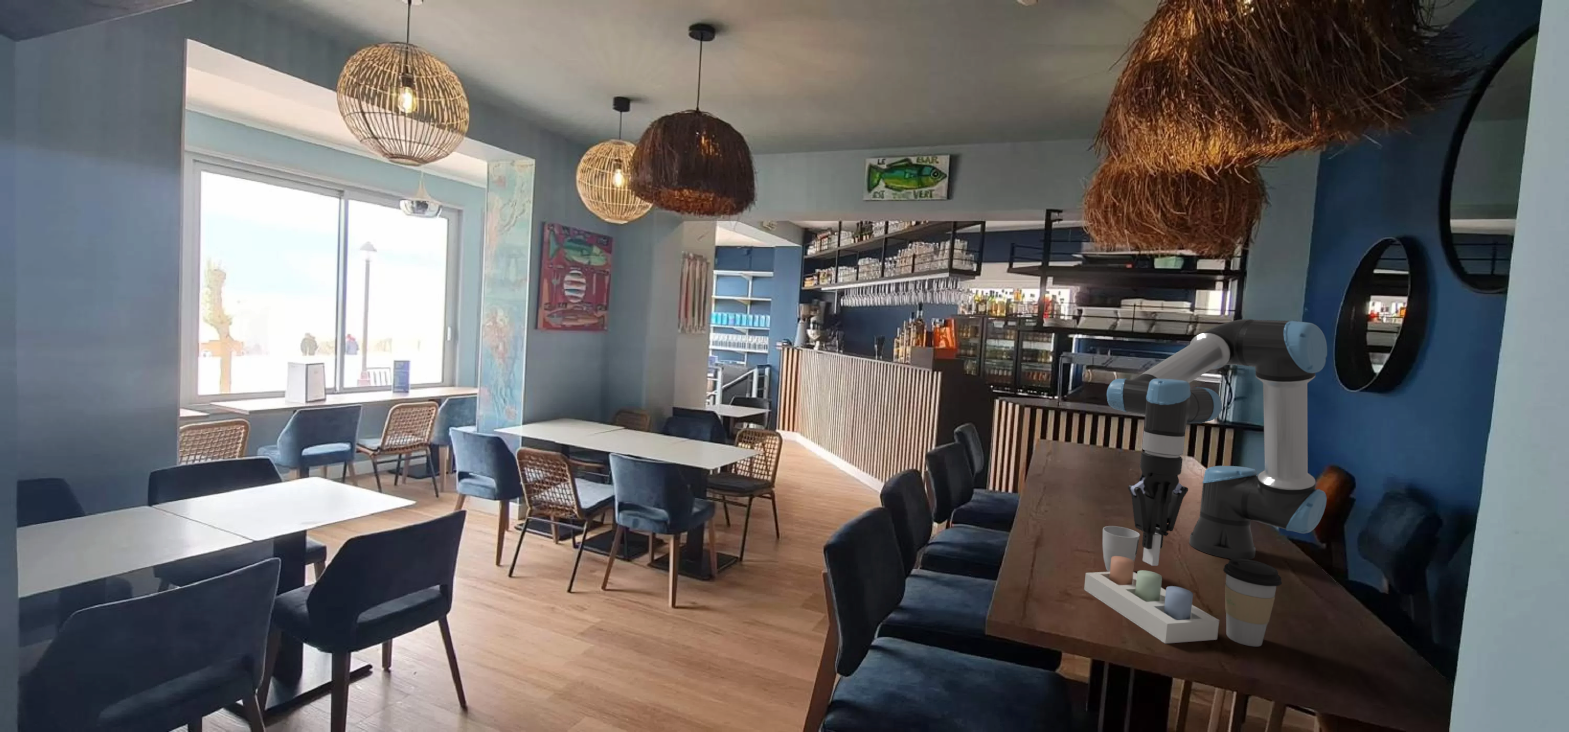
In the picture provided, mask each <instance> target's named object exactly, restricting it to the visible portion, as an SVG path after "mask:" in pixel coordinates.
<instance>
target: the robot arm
mask: <svg viewBox="0 0 1569 732" xmlns="http://www.w3.org/2000/svg"><path fill="white" fill-rule="evenodd" d="M1327 357H1328V345H1327V340H1326V336H1325V334H1324V333H1323V330H1321V328H1320V327H1319V326H1318V325H1316V324H1314V323H1312V322H1306V321H1297V320H1278V319H1277V320H1272V319H1271V320H1270V319H1268V320H1267V319H1249V318H1248V319H1247V318H1245V319H1244V318H1243V319H1237V320H1231V321H1228V322H1224V323H1221V324H1218V325H1216V326H1214V327H1211V328H1209V329H1206V330H1205V331H1202V332H1200V333H1199V334H1197V335H1196V336H1194V337H1193V338H1192V339H1191V341H1190V343H1189V344H1188V345H1186V347H1184V348H1182V349H1180V350H1179V351H1177V352H1175V353H1173V354H1172V355H1170V356H1169V357H1167V358H1166V359H1164V360H1162V361H1161V362H1159V363H1158V364H1155V365H1154V366H1152V367H1151V368H1148V370H1146V371H1144V372H1143V373H1141V374H1138V376H1135V377H1134V378H1133V379H1132V378H1131V379H1128V378H1126V377H1125V378H1115V379H1113V380H1112V381H1111V382H1110V384H1109V385H1108V387H1107V390H1106V399H1107V403H1108V406H1110V408H1111V409H1113V410H1116V411H1117V410H1118V411H1121V412H1123V413H1130V414H1131V413H1132V414H1137V415H1142V416H1143V415H1144V426H1143V427H1144V428H1143V434H1142V442H1141V443H1142V444H1141V448H1142V450H1144V451H1142V452H1141V454H1140V461H1139V462H1140V463H1139V468H1140V470H1141V474H1140V477H1139V478H1138V482H1137V483H1135V484H1134V485H1132V484H1129V485H1128V486H1127V489H1128V491H1129V494H1130V495H1131V496H1130V497H1131V503H1132V513H1133V521H1134V528H1135V529H1138V530H1139V531H1142V539H1141V540H1142V542H1141V543H1142V544H1141V545H1142V547H1143V551H1142V562H1144V563H1147V564H1148V565H1150V566H1152V567H1153V566H1159V560H1160V551H1161V549H1162V548H1163V542H1164V536H1165V537H1167V536H1169V534H1170V533H1169V532H1173V531H1174V529H1175V525H1176V522H1177V519H1178V516H1179V512H1180V509H1181V506H1182V502H1183V500H1184V497H1185V496H1186V494H1188V491H1189V488H1188V487H1187V486H1184V485H1182V484H1181V483H1180V479H1179V476H1180V475H1181V473H1182V468H1183V457H1182V455H1183V454H1184V449H1185V438H1186V429H1187V425H1188V424H1190V425H1191V424H1205V423H1208V422H1211V421H1213V420H1215V419H1217V418H1218V417H1219V416H1220V413H1221V411H1222V408H1223V404H1222V403H1223V402H1222V400H1221V397H1220V396H1219V394H1218V393H1217V392H1216V391H1214V390H1213V389H1211V388H1208V387H1200V386H1196V387H1191V385H1190V383H1191V382H1193V381H1194V380H1196V379H1197V378H1199V377H1201V376H1202V375H1204V374H1205V373H1207V372H1209V371H1210V370H1218V369H1221V368H1223V367H1224V366H1228V365H1229V366H1244V367H1253V368H1254V369H1255V371H1254V372H1255V378H1256V379H1257V380H1259V381H1260V382H1262V386H1263V387H1262V389H1263V390H1262V391H1263V395H1262V396H1263V437H1264V438H1263V440H1264V442H1263V443H1264V444H1263V445H1264V470H1263V471H1261V472H1260V473H1258V472H1257V470H1256V469H1255V468H1251V467H1246V466H1236V465H1235V466H1234V465H1215V466H1210V467H1207V468H1206V469H1205V471H1204V474H1203V480H1202V482H1201V483H1202V487H1201V488H1202V491H1201V497H1200V498H1201V499H1200V510H1199V517H1198V519H1197V521H1196V523H1195V525H1194V528H1193V530H1192V532H1191V533H1190V535H1189V539H1188V541H1189V542H1188V543H1189V545H1190V546H1191V547H1192V548H1194V549H1195V550H1197V551H1200V552H1202V553H1205V554H1208V555H1211V556H1215V557H1218V558H1224V559H1225V558H1226V559H1229V560H1231V559H1248V560H1252V559H1254V558H1255V557H1256V545H1255V544H1254V541H1253V540H1254V539H1253V534H1252V530H1251V523H1252V521H1254V522H1258V523H1261V524H1265V525H1268V526H1272V527H1276V528H1279V529H1283V530H1285V531H1287V532H1296V533H1299V534H1308V533H1311V532H1312V531H1314V529H1315V528H1316V527H1317V526H1318V525H1319V523H1320V522H1321V519H1323V518H1322V517H1323V515H1324V513H1325V509H1326V506H1327V494H1326V492H1325V491H1324V490H1321V489H1320V488H1316V479H1315V477H1314V476H1313V475H1311V473H1308V466H1309V465H1308V461H1309V460H1308V457H1309V455H1308V383H1309V382H1311V381H1312V380H1313V379H1315V378H1316V373H1319V372H1321V371H1322V370H1323V368H1324V367H1325V365H1326V362H1327V360H1326V358H1327Z"/></svg>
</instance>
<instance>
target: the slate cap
mask: <svg viewBox="0 0 1569 732" xmlns="http://www.w3.org/2000/svg"><path fill="white" fill-rule="evenodd" d="M1165 588H1166V589H1165V590H1166V596H1165V605H1164V613H1165V614H1167V615H1168V616H1170V617H1172V618H1173V619H1176V620H1189V619H1190V617H1191V608H1192V605H1193V597H1194V594H1193V592H1192V591H1190V590H1189V589H1186V588H1183V587H1180V586H1175V585H1174V586H1173V585H1170V586H1167V587H1165Z"/></svg>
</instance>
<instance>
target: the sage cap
mask: <svg viewBox="0 0 1569 732" xmlns="http://www.w3.org/2000/svg"><path fill="white" fill-rule="evenodd" d="M1136 574H1137V580H1136V590H1135V596H1137V597H1139V598H1140V599H1142V600H1144V601H1147V602H1152V601H1160V592H1161V588H1162V583H1163V582H1162V581H1163V576H1162V575H1161V574H1159V573H1157V572H1154V571H1151V570H1145V569H1144V570H1142V569H1140V570H1138V571H1137V573H1136Z"/></svg>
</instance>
